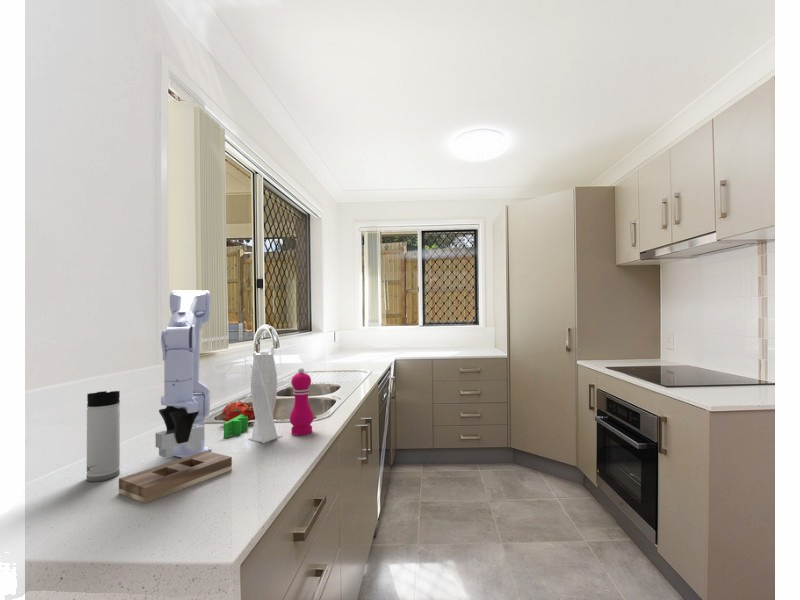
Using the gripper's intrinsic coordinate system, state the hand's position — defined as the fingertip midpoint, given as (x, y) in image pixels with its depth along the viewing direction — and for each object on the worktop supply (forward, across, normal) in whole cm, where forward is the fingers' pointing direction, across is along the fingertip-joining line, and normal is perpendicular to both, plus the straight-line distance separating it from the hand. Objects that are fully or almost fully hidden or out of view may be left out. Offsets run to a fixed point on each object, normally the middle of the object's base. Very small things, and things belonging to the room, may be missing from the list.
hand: (178, 440), depth 94 cm
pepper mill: (+9, +8, -40) cm, 42 cm away
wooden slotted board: (+9, 0, 0) cm, 9 cm away
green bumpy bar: (+9, +25, -28) cm, 39 cm away
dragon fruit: (+9, +34, -34) cm, 49 cm away
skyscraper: (+9, +12, -30) cm, 33 cm away
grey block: (+3, 0, 0) cm, 3 cm away
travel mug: (+9, +17, +10) cm, 21 cm away
